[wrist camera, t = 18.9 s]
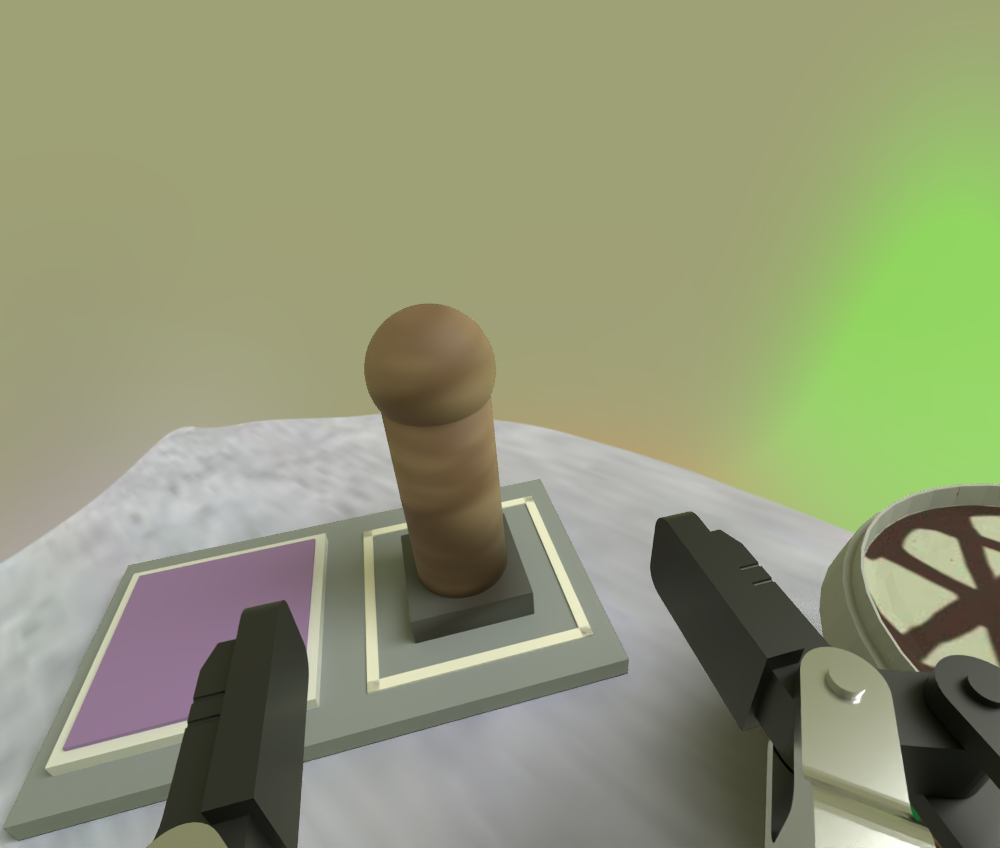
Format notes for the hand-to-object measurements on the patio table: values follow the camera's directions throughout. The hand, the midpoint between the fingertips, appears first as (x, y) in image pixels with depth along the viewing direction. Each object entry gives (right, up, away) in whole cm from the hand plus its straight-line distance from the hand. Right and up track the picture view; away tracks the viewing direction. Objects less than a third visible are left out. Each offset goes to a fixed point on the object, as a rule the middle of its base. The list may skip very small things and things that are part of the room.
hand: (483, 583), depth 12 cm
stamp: (-1, -5, +16) cm, 16 cm away
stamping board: (-7, -6, +15) cm, 18 cm away
